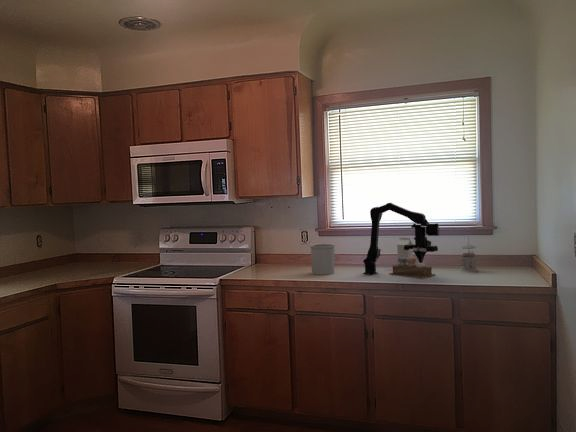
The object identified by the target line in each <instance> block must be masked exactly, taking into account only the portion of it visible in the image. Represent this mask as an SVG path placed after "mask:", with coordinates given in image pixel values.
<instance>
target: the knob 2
mask: <svg viewBox="0 0 576 432" xmlns="http://www.w3.org/2000/svg"><path fill="white" fill-rule="evenodd" d="M415 265H416V267H417V268H425V267H426V266H427V265H426V263H424V262H422V263H420V262H419V263H415Z"/></svg>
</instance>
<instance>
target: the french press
mask: <svg viewBox="0 0 576 432" xmlns="http://www.w3.org/2000/svg"><path fill="white" fill-rule="evenodd" d="M470 230H471V228H470V227H468V228H466V231H467V234H468V235H467V236H468V237H467V239H468V241H467V242H468V244H464V245H462V246H461V249H465V250H468V252H464V253H462V256H461V265H462V267H461V268H460V271H462V272H467V273H468V272H470V273H471V272H474V273H475V272H478V271H479V270H478V268H477V256H475V255H476V253H474V251H473V250H471V249H476V245H473V244H470V242H469V241H470V240H469V239H470V237H469V233H470V232H469V231H470ZM470 250H471V251H470Z"/></svg>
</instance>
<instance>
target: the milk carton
mask: <svg viewBox="0 0 576 432" xmlns="http://www.w3.org/2000/svg"><path fill="white" fill-rule="evenodd" d="M407 244H413V242H412V241H411V237H399V240H398V242H397V244H396V247H397V250H396V251H397V253H396V254H397V259H398V258H400V257H406V258H414V255H413V254H414V252H413V249H409V250H404V246H405V245H407ZM406 264H408V262H407V261H406ZM397 265H399V261H398V260H397Z"/></svg>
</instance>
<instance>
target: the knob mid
mask: <svg viewBox="0 0 576 432" xmlns="http://www.w3.org/2000/svg"><path fill="white" fill-rule="evenodd" d="M407 262H408V267H415V265H416V263H417V257H416V258H415V257H413V258H407Z"/></svg>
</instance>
